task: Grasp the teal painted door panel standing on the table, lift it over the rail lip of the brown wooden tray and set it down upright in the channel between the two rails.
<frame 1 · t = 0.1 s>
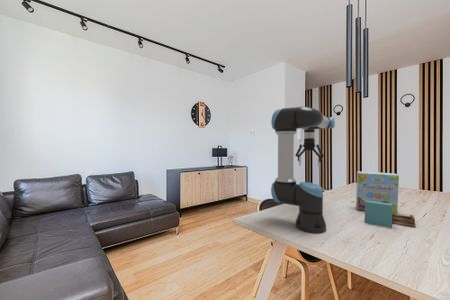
hand: (309, 166, 156), 28 cm above the table, fingers open, 13 cm apart
door panel: (377, 224, 114), on the table
snack box: (375, 211, 135), on the table
brown wooden tray: (392, 220, 118), on the table
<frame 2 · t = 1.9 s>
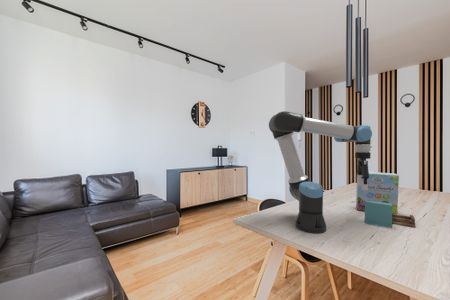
hand: (362, 187, 121), 19 cm above the table, fingers open, 13 cm apart
nothing on the table moved.
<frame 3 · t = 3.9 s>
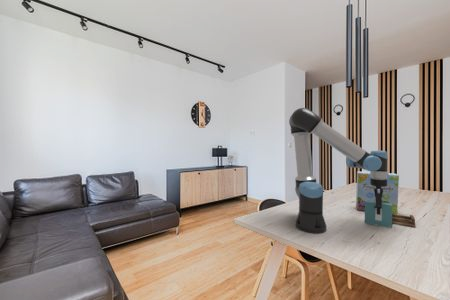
hand: (378, 216, 113), 4 cm above the table, fingers open, 13 cm apart
nothing on the table moved.
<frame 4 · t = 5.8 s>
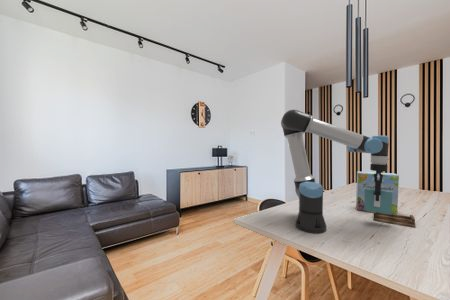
hand: (376, 205, 114), 10 cm above the table, fingers closed on door panel, 4 cm apart
door panel: (377, 211, 113), point 7 cm above the table, touching gripper
everything else where it was.
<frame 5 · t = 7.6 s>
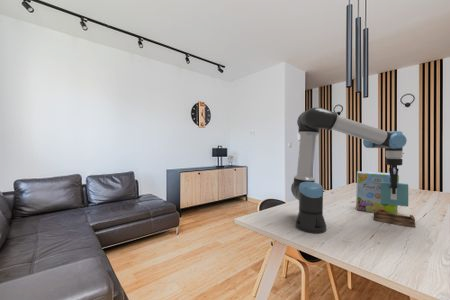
hand: (393, 198, 118), 13 cm above the table, fingers closed on door panel, 4 cm apart
door panel: (394, 204, 118), point 10 cm above the table, touching gripper
everything else where it was.
when the fingers open (4 cm above the table, at t = 9.7 s): door panel stays where it is, resting on brown wooden tray.
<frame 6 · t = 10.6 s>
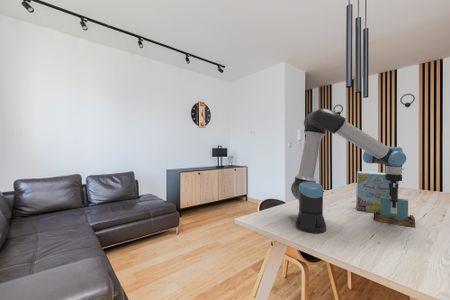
hand: (392, 210, 118), 6 cm above the table, fingers open, 13 cm apart
door panel: (393, 219, 118), point 1 cm above the table, touching brown wooden tray
everything else where it was.
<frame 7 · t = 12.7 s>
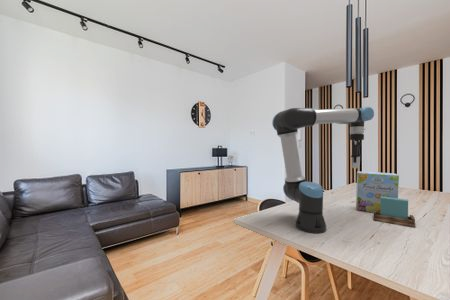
hand: (356, 167, 130), 30 cm above the table, fingers open, 13 cm apart
nothing on the table moved.
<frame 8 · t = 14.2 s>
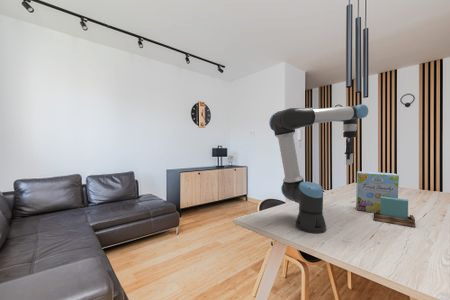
hand: (349, 164, 132), 32 cm above the table, fingers open, 13 cm apart
nothing on the table moved.
at the end: door panel 0.4 cm off-centre on the brown wooden tray, point 1.0 cm above the brown wooden tray's base; door panel tilted 0°; the gripper is holding nothing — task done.
